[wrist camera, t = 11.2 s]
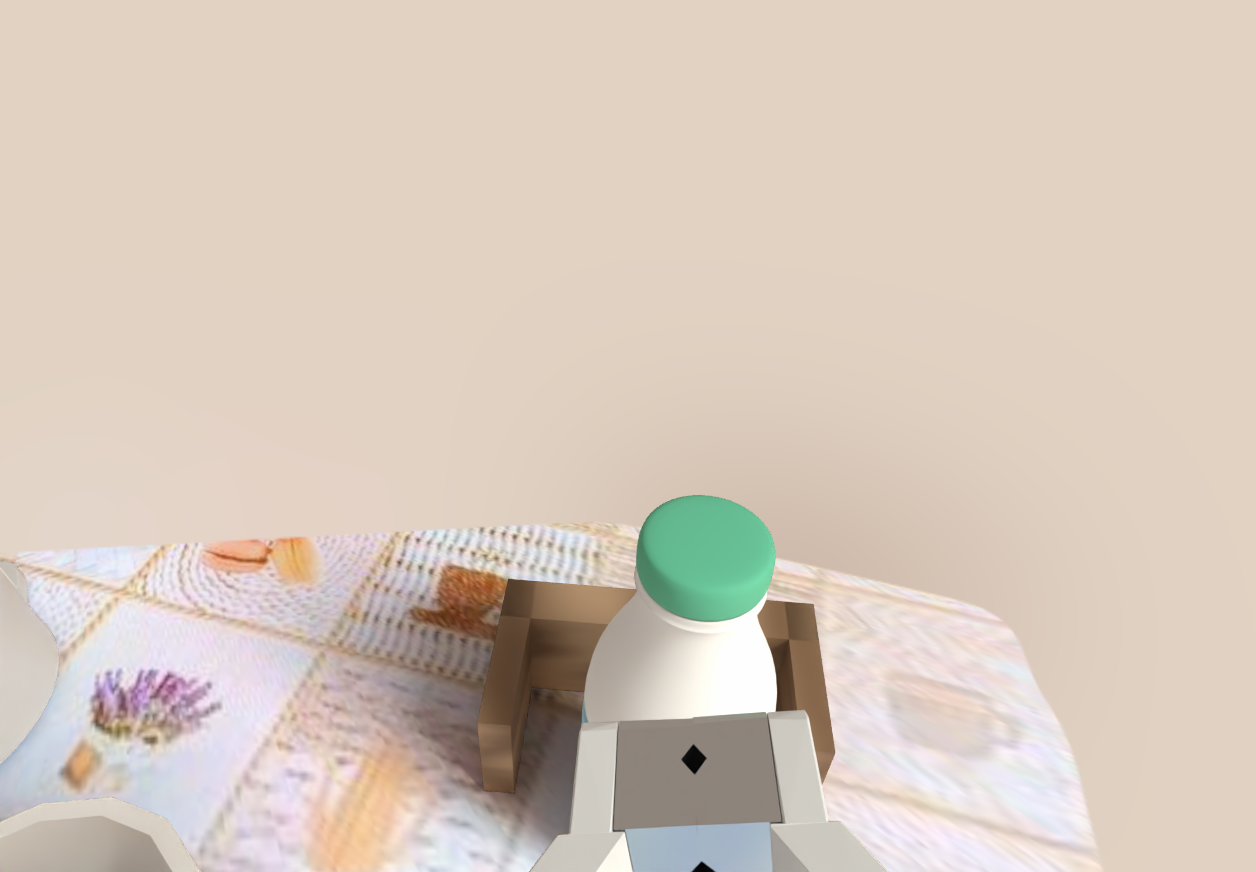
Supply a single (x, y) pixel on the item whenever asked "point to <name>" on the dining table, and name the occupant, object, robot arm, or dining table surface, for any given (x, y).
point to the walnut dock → (562, 651)
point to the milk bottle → (689, 620)
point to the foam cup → (91, 839)
